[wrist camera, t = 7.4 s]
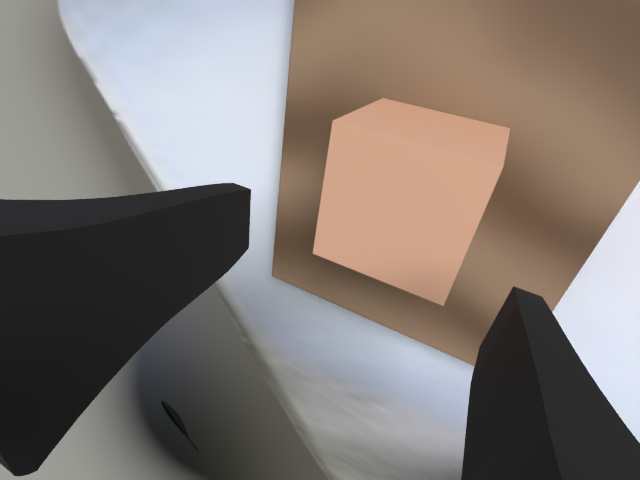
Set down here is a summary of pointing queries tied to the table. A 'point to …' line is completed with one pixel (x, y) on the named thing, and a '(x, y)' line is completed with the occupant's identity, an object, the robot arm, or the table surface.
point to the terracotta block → (406, 193)
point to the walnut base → (482, 105)
